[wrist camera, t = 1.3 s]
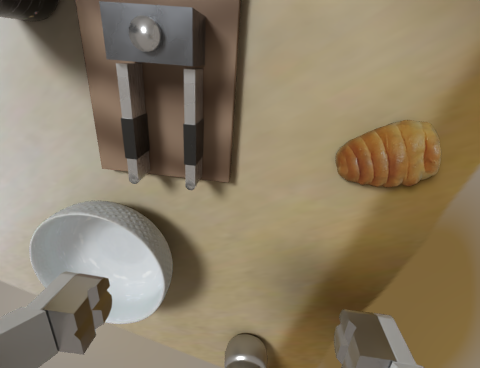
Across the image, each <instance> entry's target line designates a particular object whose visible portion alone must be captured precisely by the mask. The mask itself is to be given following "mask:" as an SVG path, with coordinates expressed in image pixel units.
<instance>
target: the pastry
mask: <svg viewBox="0 0 480 368" xmlns="http://www.w3.org/2000/svg"><path fill="white" fill-rule="evenodd" d="M439 144H440V141H439V138H438V135H437V133H436V131H435V129H434V128H433V126H432V125H431V124H430V123H428V122H420V121H412V120H403V121H400V122H395V123H391V124H388V125H386V126H383V127H380V128H378V129H374V130H372V131H370V132H368V133H365V134H363V135H361V136H359V137H357V138H354V139H352V140H350V141H348V142H347V143H346V144H345V145H344V146H342V147H341V148H340V149H339V150H338V152H337V154H336V166H337V170H338V174H339V175H340V176H342V177H343V178H345V179H346V180H347V181H353V182H357V183H359V184H361V185H365V184H369V185H372V186H376V187H378V186H384V187H393V186H398V185H400V184H403V185H405V186H412V185H415V184H417V183H418V182H419V180H423V179H426V178H428V177H430V176H432V175H435V174H436V173H437V172H438V170H439V166H440V161H441V149H440V145H439Z"/></svg>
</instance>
